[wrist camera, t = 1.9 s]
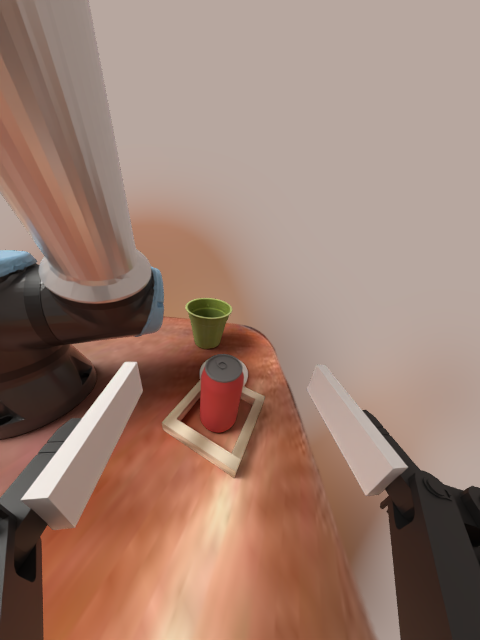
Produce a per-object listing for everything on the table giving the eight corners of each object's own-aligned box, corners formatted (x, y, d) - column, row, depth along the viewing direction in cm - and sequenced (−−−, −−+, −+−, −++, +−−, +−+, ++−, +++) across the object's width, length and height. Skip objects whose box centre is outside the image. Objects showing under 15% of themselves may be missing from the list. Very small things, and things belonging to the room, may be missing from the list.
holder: (162, 429, 27) (161, 422, 26) (208, 376, 38) (209, 369, 37) (234, 478, 23) (236, 471, 22) (263, 403, 34) (265, 396, 33)
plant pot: (181, 354, 43) (179, 315, 38) (191, 329, 53) (190, 296, 48) (227, 357, 44) (232, 319, 39) (228, 332, 55) (232, 300, 49)
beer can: (222, 393, 35) (228, 346, 29) (243, 419, 30) (255, 371, 25) (193, 410, 31) (192, 360, 25) (212, 443, 26) (217, 392, 21)
